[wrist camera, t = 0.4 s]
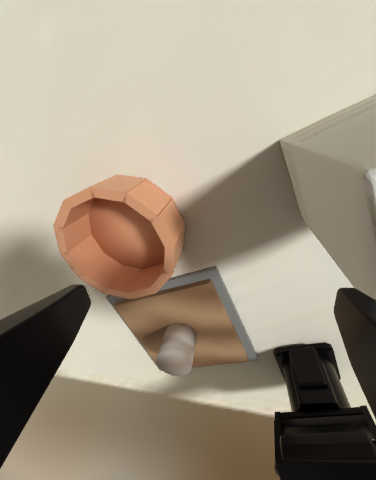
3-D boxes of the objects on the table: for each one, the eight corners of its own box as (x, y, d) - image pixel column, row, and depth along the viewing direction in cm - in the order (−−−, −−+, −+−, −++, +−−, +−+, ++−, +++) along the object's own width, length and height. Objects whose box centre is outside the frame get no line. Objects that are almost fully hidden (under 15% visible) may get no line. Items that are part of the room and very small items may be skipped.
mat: (257, 356, 29) (257, 360, 28) (160, 366, 34) (159, 369, 33) (216, 266, 23) (215, 268, 23) (108, 294, 28) (106, 297, 28)
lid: (247, 355, 28) (250, 396, 24) (162, 365, 33) (151, 400, 28) (210, 278, 23) (205, 312, 19) (116, 301, 28) (95, 332, 24)
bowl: (200, 256, 23) (194, 284, 19) (120, 279, 27) (100, 306, 23) (152, 157, 19) (131, 165, 15) (66, 200, 23) (31, 216, 19)
